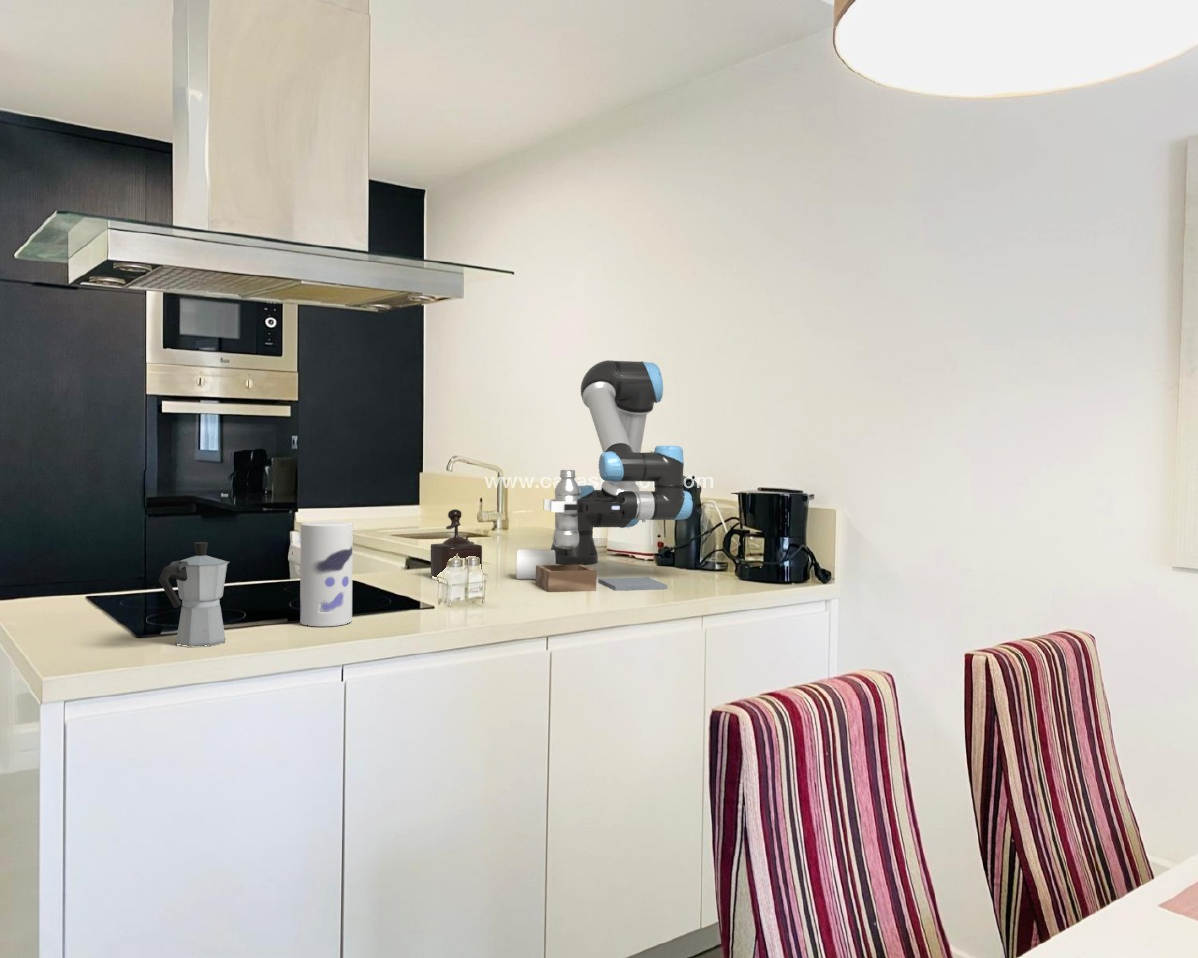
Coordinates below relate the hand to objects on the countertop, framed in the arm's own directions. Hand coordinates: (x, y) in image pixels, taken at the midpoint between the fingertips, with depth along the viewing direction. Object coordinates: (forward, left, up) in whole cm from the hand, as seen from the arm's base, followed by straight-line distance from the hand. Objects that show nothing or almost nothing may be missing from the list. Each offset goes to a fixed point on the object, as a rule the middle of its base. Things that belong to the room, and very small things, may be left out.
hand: (547, 505), depth 243 cm
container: (+35, -55, -21) cm, 68 cm away
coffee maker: (+50, -78, -21) cm, 95 cm away
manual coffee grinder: (-22, -20, -21) cm, 36 cm away
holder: (0, +5, -21) cm, 21 cm away
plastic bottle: (0, +5, -11) cm, 12 cm away
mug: (-18, +2, -21) cm, 28 cm away
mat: (0, +23, -21) cm, 31 cm away
